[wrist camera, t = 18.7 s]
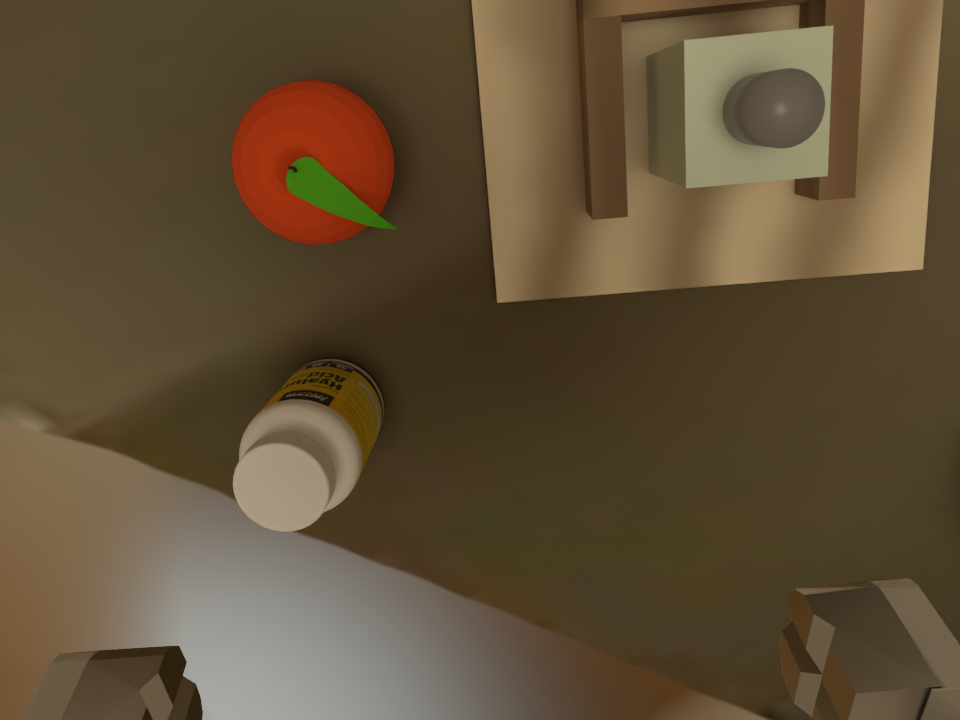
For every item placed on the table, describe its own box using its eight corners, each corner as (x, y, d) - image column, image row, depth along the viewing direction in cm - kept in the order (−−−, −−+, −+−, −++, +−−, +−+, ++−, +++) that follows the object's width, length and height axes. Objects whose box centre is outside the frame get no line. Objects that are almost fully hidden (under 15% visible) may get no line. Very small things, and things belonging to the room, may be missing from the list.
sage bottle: (648, 172, 36) (705, 196, 26) (646, 56, 35) (704, 31, 24) (760, 163, 36) (863, 182, 25) (761, 45, 34) (872, 14, 24)
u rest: (497, 298, 39) (496, 318, 35) (467, -59, 34) (461, -81, 31) (912, 265, 38) (957, 282, 34) (939, -110, 33) (995, -139, 29)
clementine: (451, 154, 37) (438, 164, 30) (373, 273, 39) (343, 306, 32) (307, 51, 36) (260, 36, 29) (233, 178, 38) (173, 192, 31)
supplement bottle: (364, 342, 40) (319, 411, 31) (400, 436, 42) (367, 530, 32) (266, 372, 41) (193, 449, 31) (305, 464, 42) (246, 563, 33)
